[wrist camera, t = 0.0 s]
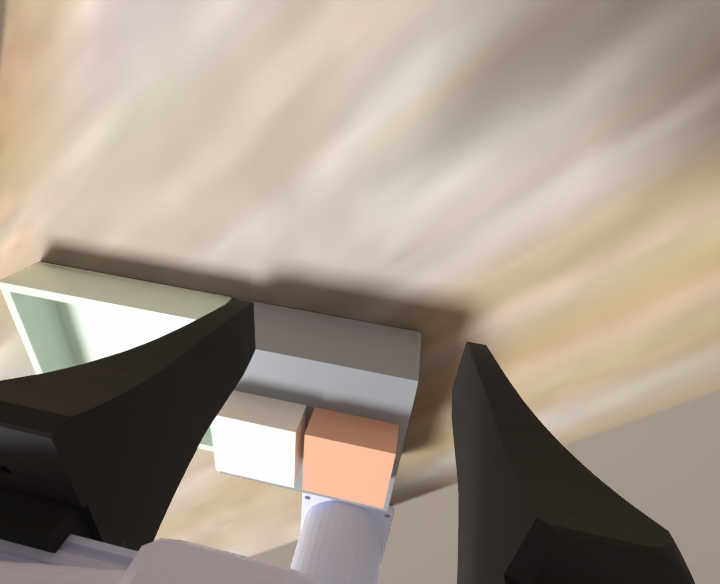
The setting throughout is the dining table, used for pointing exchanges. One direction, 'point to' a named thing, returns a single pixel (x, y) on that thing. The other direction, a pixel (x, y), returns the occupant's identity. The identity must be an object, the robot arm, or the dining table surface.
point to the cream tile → (260, 438)
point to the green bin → (96, 315)
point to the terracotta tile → (349, 457)
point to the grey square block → (334, 370)
